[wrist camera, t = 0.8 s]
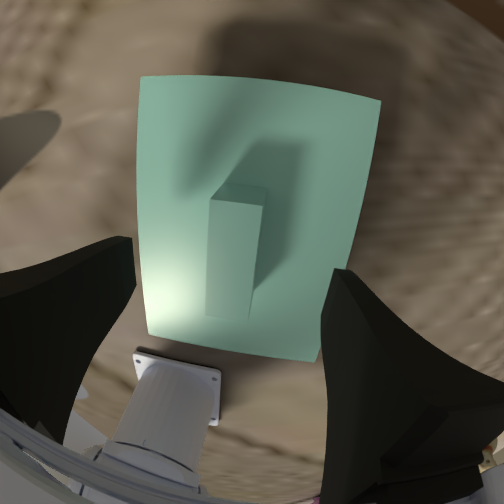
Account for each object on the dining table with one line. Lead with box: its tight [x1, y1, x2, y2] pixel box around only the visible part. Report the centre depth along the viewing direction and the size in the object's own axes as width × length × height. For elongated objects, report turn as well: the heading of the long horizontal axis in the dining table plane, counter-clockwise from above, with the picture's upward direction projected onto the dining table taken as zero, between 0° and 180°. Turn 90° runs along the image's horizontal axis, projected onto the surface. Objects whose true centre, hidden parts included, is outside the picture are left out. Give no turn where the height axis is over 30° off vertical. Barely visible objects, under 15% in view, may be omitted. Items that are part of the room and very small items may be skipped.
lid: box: [137, 75, 381, 362], centre depth 13 cm, size 14×10×4 cm
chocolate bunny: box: [479, 438, 497, 473], centre depth 24 cm, size 6×8×10 cm
